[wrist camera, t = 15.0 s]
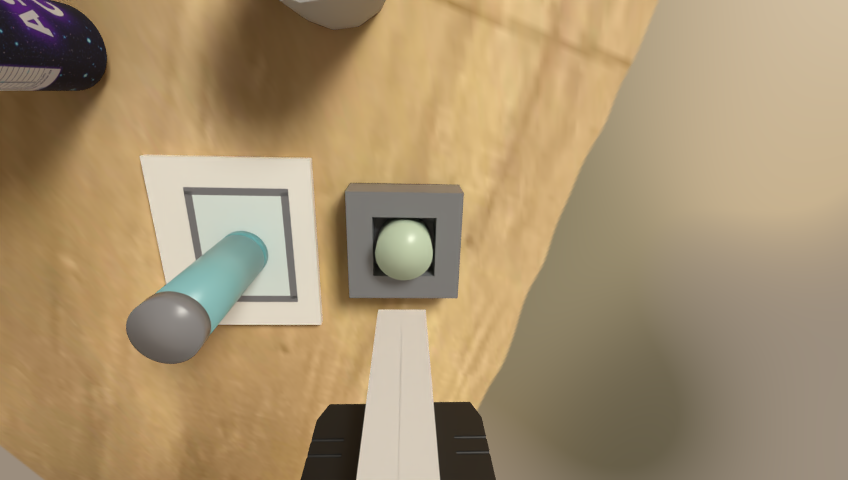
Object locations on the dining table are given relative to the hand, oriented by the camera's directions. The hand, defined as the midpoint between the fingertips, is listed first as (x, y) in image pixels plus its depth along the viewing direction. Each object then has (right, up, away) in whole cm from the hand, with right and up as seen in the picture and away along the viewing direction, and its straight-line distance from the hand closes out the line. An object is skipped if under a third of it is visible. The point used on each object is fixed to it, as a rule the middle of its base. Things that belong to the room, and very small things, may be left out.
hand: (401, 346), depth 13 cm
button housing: (-1, +4, +22) cm, 23 cm away
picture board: (-15, +3, +22) cm, 27 cm away
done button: (-1, +3, +21) cm, 21 cm away
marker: (-14, +2, +21) cm, 26 cm away
